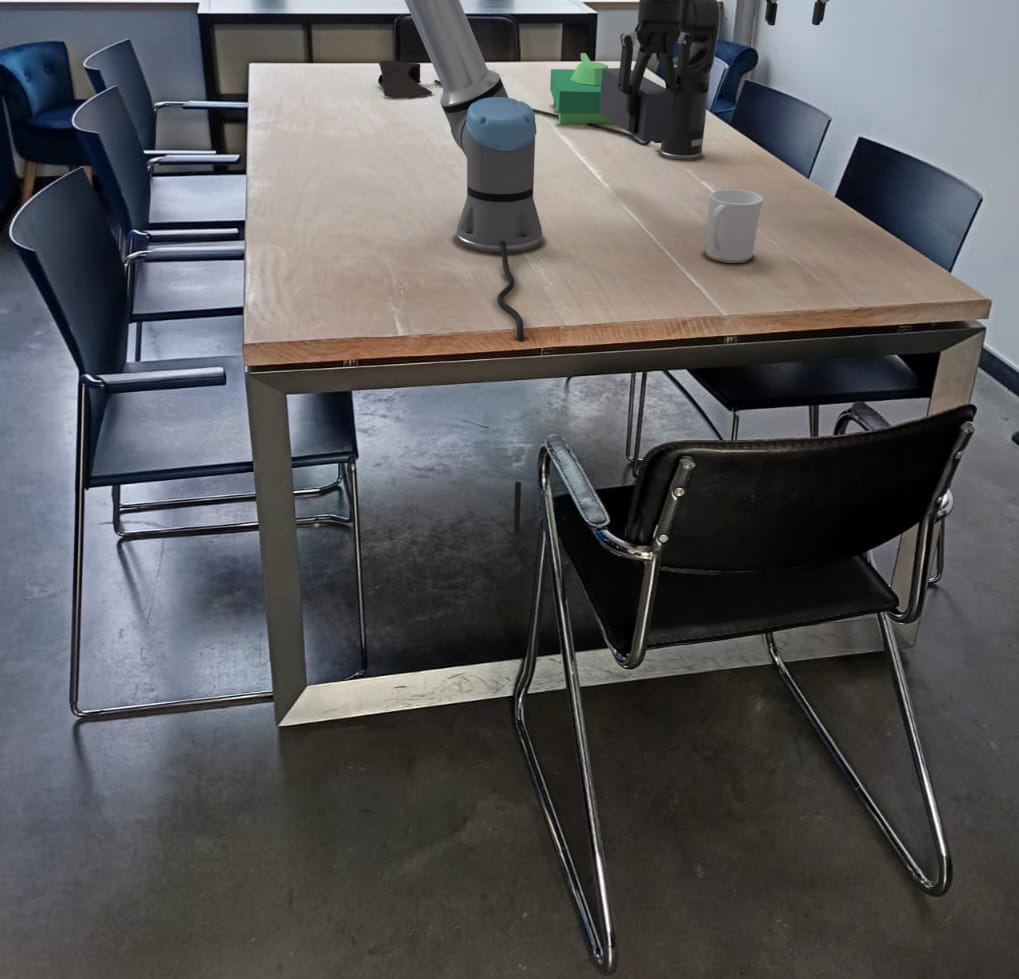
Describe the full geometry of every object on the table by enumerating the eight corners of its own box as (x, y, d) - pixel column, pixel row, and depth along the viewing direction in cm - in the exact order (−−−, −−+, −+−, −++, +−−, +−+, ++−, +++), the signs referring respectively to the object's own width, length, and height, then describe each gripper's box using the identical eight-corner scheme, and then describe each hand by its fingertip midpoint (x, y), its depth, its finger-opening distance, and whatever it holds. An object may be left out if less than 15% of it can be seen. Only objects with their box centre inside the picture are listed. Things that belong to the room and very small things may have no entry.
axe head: (443, 87, 294) (392, 77, 287) (436, 115, 299) (385, 106, 292) (421, 62, 307) (371, 52, 300) (414, 89, 311) (365, 80, 304)
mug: (719, 243, 196) (726, 186, 191) (763, 254, 192) (772, 196, 186) (686, 258, 189) (693, 199, 184) (732, 271, 184) (740, 210, 179)
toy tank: (615, 49, 292) (633, 76, 262) (611, 97, 298) (629, 128, 269) (549, 48, 291) (560, 74, 261) (547, 96, 297) (558, 127, 268)
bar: (669, 140, 203) (674, 93, 198) (642, 141, 201) (647, 93, 197) (623, 111, 221) (627, 67, 217) (598, 112, 220) (602, 68, 215)
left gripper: (699, -7, 198) (684, 125, 210) (604, -7, 193) (594, 128, 205) (718, -1, 192) (701, 134, 204) (620, -1, 187) (609, 138, 199)
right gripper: (837, -76, 195) (822, 21, 204) (761, -77, 193) (749, 21, 202) (854, -73, 189) (838, 28, 197) (775, -74, 187) (762, 28, 196)
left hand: (648, 131), depth 205 cm, fingers closed on bar, 5 cm apart
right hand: (793, 24), depth 200 cm, fingers open, 8 cm apart
